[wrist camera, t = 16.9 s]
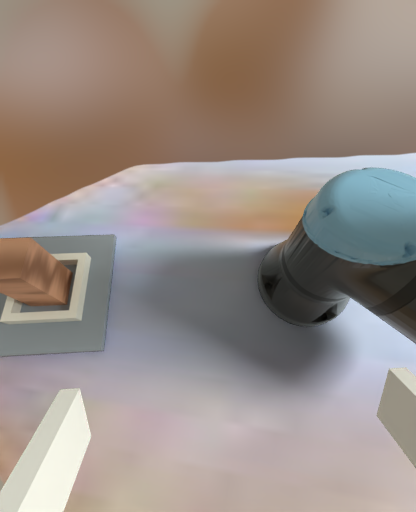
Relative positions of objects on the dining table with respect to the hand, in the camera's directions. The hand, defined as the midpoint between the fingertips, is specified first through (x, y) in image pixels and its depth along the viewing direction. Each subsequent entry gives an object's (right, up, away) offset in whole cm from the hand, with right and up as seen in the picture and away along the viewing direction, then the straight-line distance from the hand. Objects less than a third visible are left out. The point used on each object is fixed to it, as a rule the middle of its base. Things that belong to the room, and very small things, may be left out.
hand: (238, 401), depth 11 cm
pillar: (-27, +1, +31) cm, 41 cm away
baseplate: (-27, 0, +32) cm, 42 cm away
